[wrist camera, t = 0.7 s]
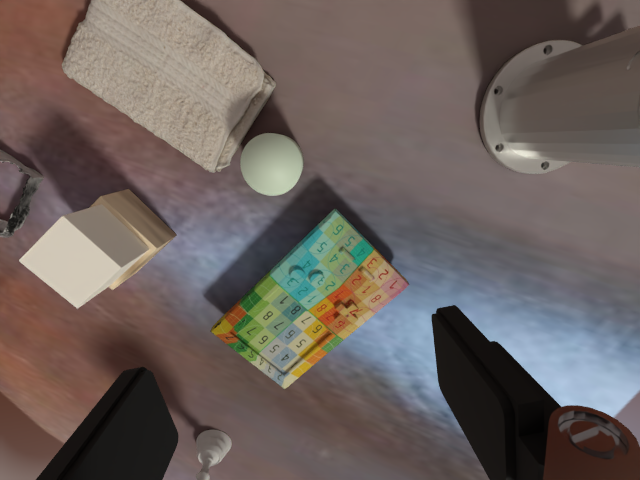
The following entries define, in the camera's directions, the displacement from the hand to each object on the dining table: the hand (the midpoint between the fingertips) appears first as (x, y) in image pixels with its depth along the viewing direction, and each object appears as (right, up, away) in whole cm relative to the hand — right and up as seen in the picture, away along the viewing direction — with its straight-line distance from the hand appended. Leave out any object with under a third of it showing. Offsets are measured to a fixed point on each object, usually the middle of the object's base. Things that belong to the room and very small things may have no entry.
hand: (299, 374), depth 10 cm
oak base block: (-21, +5, +26) cm, 34 cm away
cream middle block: (-21, +4, +21) cm, 30 cm away
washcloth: (-14, +21, +22) cm, 33 cm away
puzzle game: (-1, -2, +29) cm, 29 cm away
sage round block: (-4, +13, +24) cm, 27 cm away
